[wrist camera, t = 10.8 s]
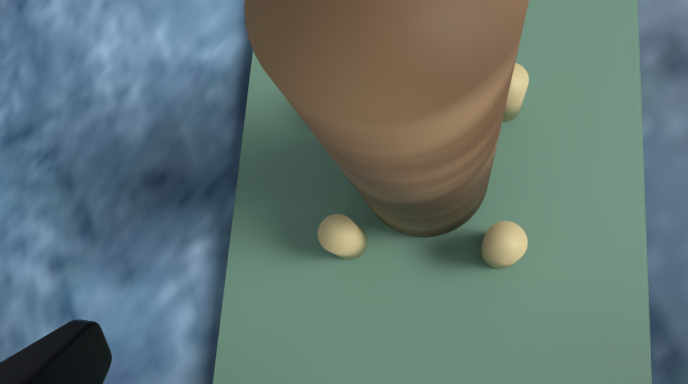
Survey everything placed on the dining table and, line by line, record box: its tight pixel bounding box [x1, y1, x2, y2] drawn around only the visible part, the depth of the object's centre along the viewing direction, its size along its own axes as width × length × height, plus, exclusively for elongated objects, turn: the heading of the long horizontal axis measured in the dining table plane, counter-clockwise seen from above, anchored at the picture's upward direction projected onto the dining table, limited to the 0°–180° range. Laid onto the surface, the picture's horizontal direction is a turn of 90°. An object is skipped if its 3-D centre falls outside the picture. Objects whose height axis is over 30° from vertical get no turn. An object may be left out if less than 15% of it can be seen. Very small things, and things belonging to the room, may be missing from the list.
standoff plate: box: [213, 0, 652, 384], centre depth 21 cm, size 20×16×4 cm
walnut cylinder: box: [244, 0, 529, 237], centre depth 16 cm, size 5×5×13 cm
